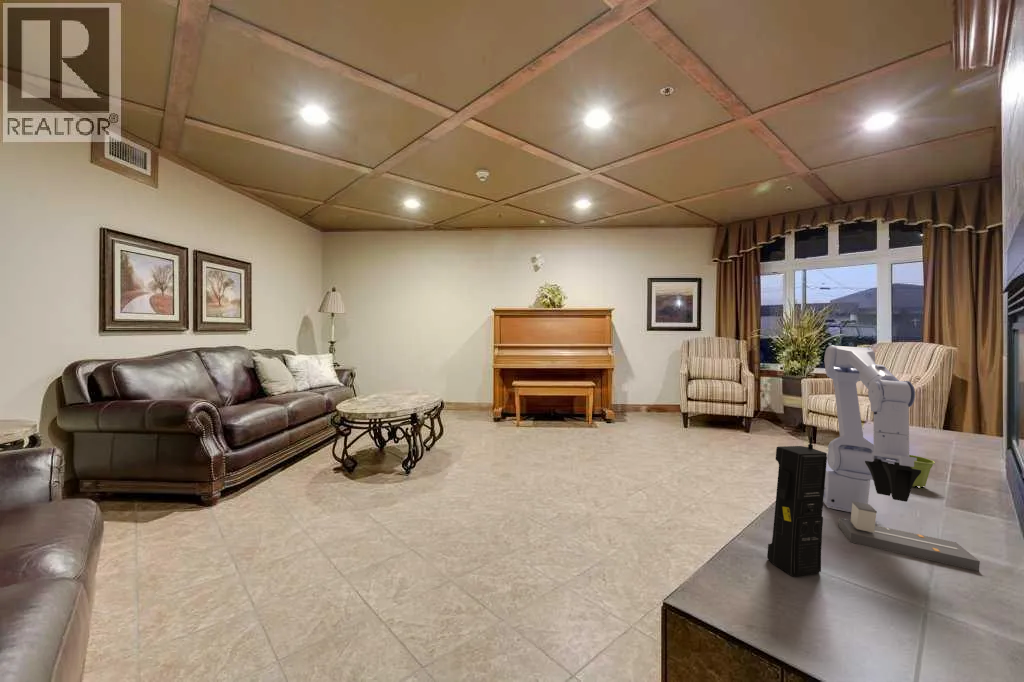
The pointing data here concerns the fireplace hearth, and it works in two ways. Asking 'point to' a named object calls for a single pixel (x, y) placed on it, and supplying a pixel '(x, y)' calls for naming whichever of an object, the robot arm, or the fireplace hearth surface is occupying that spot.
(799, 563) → the portable radio
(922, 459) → the plant pot
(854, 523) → the fader
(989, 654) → the fireplace hearth surface
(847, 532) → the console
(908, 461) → the robot arm
